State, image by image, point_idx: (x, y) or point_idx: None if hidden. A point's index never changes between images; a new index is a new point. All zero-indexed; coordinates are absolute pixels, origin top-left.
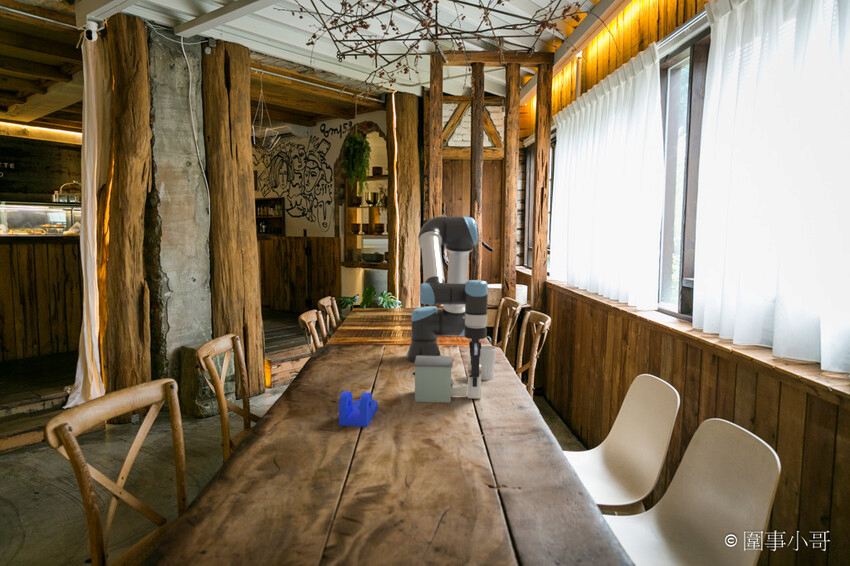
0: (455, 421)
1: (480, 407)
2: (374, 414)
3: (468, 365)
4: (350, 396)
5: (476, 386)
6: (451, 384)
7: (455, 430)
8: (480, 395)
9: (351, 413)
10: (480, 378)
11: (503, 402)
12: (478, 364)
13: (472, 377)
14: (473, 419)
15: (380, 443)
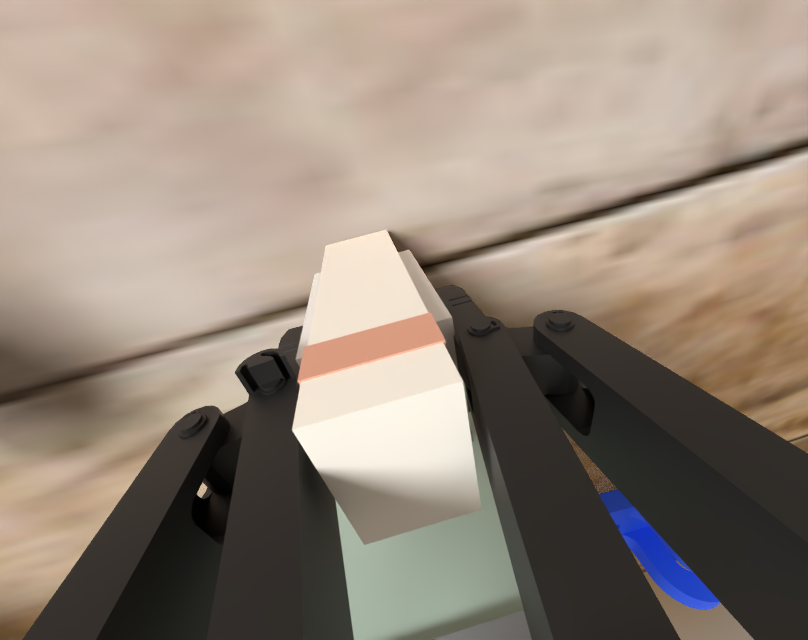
0: (706, 280)
1: (532, 199)
2: (606, 492)
3: (427, 524)
4: (688, 582)
5: (457, 288)
6: (472, 437)
7: (797, 255)
8: (389, 236)
9: (647, 525)
10: (416, 293)
11: (396, 10)
12: (781, 456)
13: (456, 368)
14: (704, 203)
15: (795, 411)
